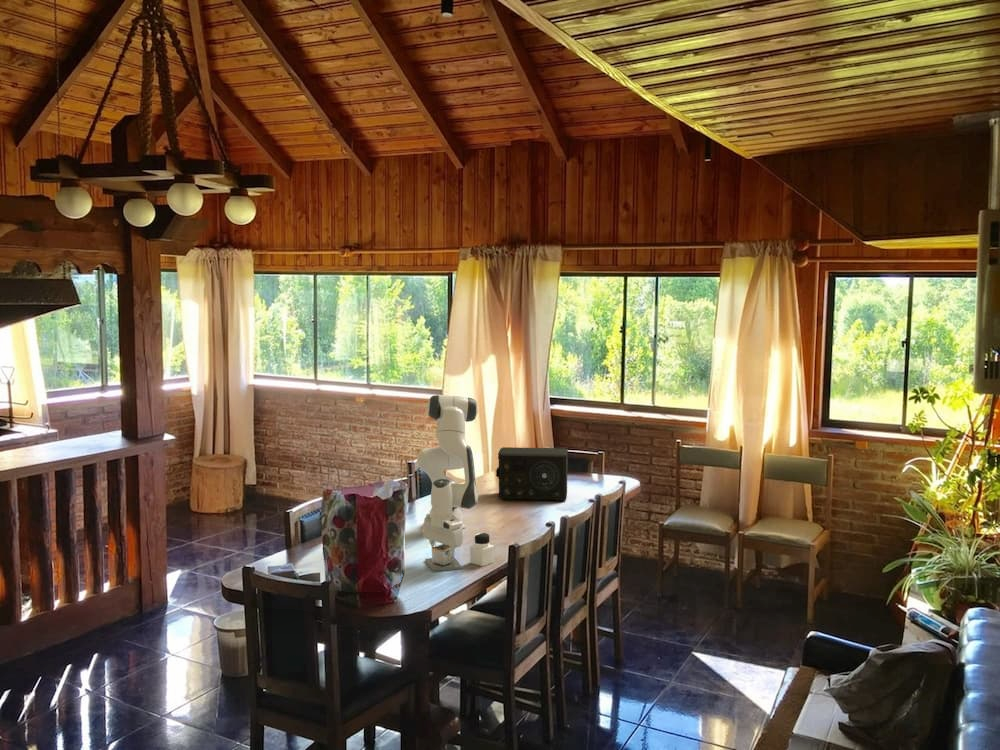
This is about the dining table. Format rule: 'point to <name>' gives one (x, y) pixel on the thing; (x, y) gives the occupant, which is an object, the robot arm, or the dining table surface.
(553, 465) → the vintage radio
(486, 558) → the medicine bottle
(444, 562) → the cream brown-topped cube
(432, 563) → the duct base
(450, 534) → the robot arm
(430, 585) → the dining table surface
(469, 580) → the dining table surface
